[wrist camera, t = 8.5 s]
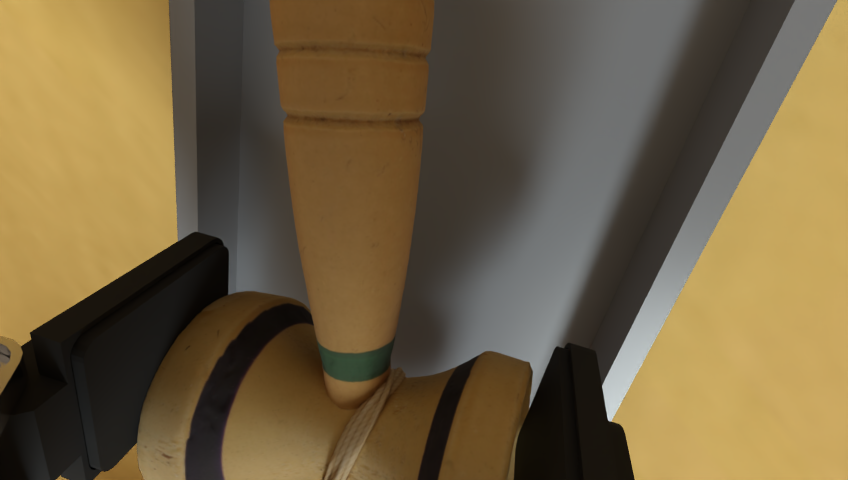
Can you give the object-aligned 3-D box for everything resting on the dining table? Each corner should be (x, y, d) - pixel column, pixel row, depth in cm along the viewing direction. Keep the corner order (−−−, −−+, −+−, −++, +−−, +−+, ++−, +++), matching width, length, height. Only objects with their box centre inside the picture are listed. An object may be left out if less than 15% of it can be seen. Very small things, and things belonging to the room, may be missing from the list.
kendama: (187, -112, 10) (253, 543, 15) (-180, -420, 4) (136, 835, 9) (553, -103, 10) (493, 552, 15) (736, -403, 4) (533, 852, 9)
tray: (871, -204, 8) (988, -284, 6) (507, 550, 19) (503, 621, 17) (241, -310, 10) (153, -407, 8) (226, 452, 20) (188, 505, 18)
